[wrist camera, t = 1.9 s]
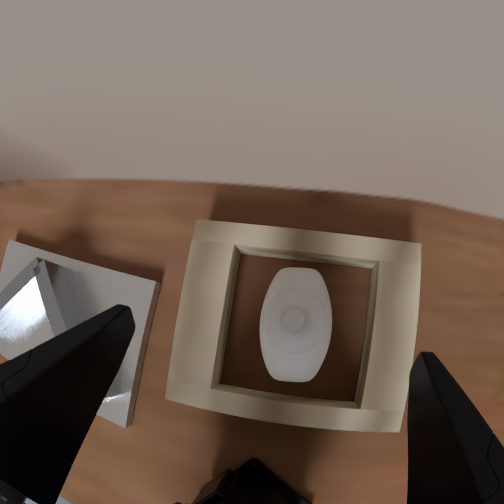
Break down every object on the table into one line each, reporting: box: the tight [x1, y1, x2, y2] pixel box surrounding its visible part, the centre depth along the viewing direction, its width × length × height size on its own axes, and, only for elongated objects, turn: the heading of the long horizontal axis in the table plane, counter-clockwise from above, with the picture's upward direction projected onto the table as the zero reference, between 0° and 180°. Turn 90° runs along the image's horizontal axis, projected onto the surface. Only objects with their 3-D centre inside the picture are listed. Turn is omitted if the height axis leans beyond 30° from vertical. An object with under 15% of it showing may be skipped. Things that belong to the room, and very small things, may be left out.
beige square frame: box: [165, 219, 421, 432], centre depth 20 cm, size 16×13×2 cm
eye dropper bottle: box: [260, 267, 332, 382], centre depth 16 cm, size 4×6×12 cm
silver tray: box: [0, 239, 161, 428], centre depth 23 cm, size 12×20×4 cm, turn 78°
